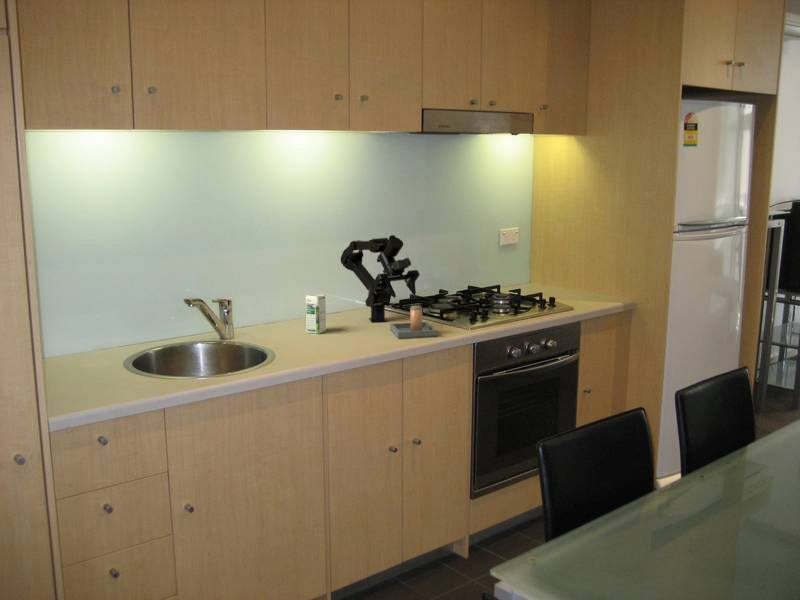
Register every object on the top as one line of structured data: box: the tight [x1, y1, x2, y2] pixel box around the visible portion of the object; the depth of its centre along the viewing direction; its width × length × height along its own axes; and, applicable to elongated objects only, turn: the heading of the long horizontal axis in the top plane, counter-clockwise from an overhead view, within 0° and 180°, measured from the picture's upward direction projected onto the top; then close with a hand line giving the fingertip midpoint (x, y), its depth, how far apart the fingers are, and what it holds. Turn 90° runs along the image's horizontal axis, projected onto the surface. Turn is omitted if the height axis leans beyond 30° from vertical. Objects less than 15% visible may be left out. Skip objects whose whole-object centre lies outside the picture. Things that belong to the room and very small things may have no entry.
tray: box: [389, 321, 438, 340], centre depth 304 cm, size 15×15×2 cm
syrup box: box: [305, 294, 327, 335], centre depth 306 cm, size 6×6×14 cm
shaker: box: [409, 305, 423, 331], centre depth 303 cm, size 4×4×10 cm
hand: (405, 295), depth 307 cm, fingers open, 9 cm apart
